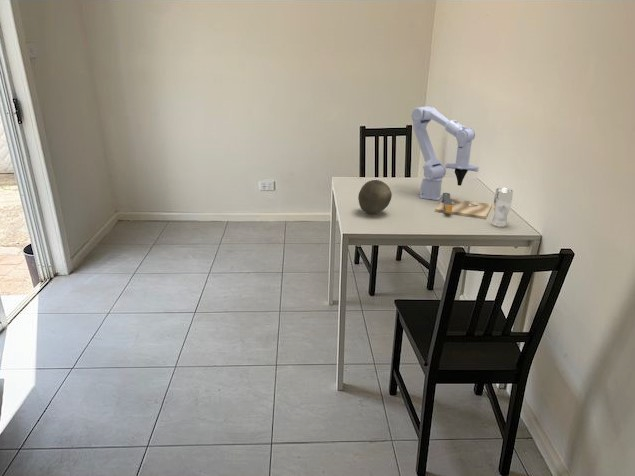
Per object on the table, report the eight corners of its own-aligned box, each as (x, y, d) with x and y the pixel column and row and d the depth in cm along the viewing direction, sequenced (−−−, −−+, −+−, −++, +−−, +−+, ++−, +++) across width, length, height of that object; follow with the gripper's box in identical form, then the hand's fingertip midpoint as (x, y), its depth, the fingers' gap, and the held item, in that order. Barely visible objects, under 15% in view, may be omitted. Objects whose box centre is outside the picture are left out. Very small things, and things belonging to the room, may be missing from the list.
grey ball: (364, 220, 203) (366, 186, 197) (353, 209, 215) (354, 177, 209) (395, 217, 206) (397, 184, 200) (382, 206, 219) (384, 175, 213)
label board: (434, 211, 212) (435, 207, 212) (443, 200, 227) (444, 196, 226) (485, 219, 203) (486, 215, 203) (491, 206, 218) (492, 203, 217)
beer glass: (495, 220, 202) (500, 186, 196) (510, 224, 197) (516, 190, 192) (487, 224, 198) (492, 190, 192) (503, 228, 193) (508, 193, 187)
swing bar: (442, 198, 222) (442, 192, 221) (448, 199, 222) (449, 192, 220) (444, 212, 205) (445, 205, 204) (452, 212, 205) (453, 205, 204)
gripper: (444, 156, 212) (441, 185, 217) (478, 159, 206) (474, 189, 211) (448, 152, 217) (445, 181, 223) (480, 156, 211) (476, 185, 217)
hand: (459, 185), depth 217 cm, fingers closed
